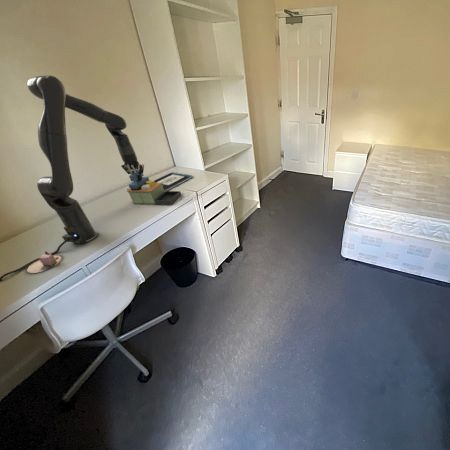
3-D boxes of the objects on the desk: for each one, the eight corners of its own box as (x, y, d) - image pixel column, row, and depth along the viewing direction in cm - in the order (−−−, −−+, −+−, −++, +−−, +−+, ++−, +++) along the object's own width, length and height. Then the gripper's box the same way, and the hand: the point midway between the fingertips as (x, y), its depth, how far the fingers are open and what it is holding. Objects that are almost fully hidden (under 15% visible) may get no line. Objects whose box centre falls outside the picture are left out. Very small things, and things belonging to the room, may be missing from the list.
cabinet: (155, 204, 159) (150, 191, 154) (131, 204, 161) (126, 191, 156) (166, 195, 171) (162, 182, 165) (144, 194, 172) (139, 182, 167)
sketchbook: (139, 189, 180) (138, 186, 179) (172, 173, 203) (172, 171, 202) (162, 193, 173) (161, 190, 172) (193, 177, 196) (193, 174, 195)
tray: (171, 204, 159) (169, 200, 157) (155, 204, 160) (154, 200, 158) (181, 195, 170) (180, 191, 168) (167, 195, 171) (165, 191, 169)
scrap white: (148, 189, 157) (147, 186, 156) (142, 190, 156) (141, 187, 155) (150, 187, 160) (149, 184, 159) (144, 187, 160) (143, 184, 159)
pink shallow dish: (68, 255, 119) (62, 248, 117) (45, 273, 109) (38, 266, 107) (44, 255, 120) (38, 247, 118) (19, 273, 110) (12, 265, 108)
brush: (143, 182, 167) (138, 169, 162) (150, 182, 166) (145, 169, 161) (130, 190, 156) (125, 177, 152) (138, 190, 156) (132, 177, 151)
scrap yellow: (150, 186, 161) (149, 183, 160) (146, 185, 162) (145, 182, 161) (155, 183, 164) (154, 180, 163) (151, 182, 166) (150, 180, 164)
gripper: (111, 154, 147) (123, 182, 157) (134, 154, 146) (145, 182, 155) (120, 150, 153) (131, 177, 163) (142, 150, 152) (152, 178, 161)
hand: (138, 180), depth 159 cm, fingers closed on brush, 2 cm apart
